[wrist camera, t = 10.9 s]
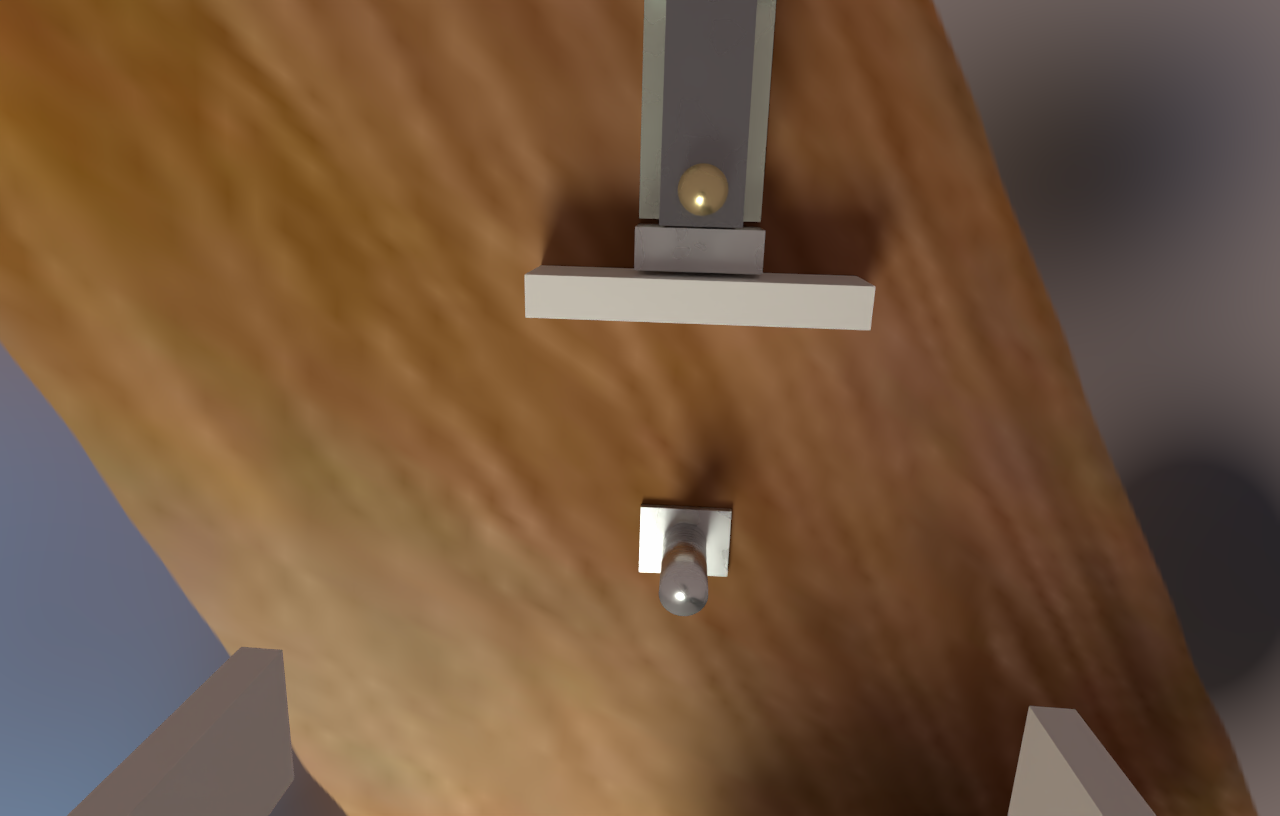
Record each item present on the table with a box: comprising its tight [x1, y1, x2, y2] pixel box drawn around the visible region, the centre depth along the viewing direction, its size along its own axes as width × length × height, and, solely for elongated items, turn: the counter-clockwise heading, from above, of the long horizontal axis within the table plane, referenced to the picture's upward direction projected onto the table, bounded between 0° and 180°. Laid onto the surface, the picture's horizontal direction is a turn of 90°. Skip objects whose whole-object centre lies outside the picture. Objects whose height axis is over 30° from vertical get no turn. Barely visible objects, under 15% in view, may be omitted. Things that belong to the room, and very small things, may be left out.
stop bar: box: [659, 0, 757, 228], centre depth 33 cm, size 9×4×7 cm, turn 178°
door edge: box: [525, 265, 875, 330], centre depth 37 cm, size 2×16×4 cm, turn 89°
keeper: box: [634, 0, 776, 275], centre depth 35 cm, size 14×6×3 cm, turn 178°
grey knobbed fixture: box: [639, 504, 731, 616], centre depth 40 cm, size 4×5×6 cm
